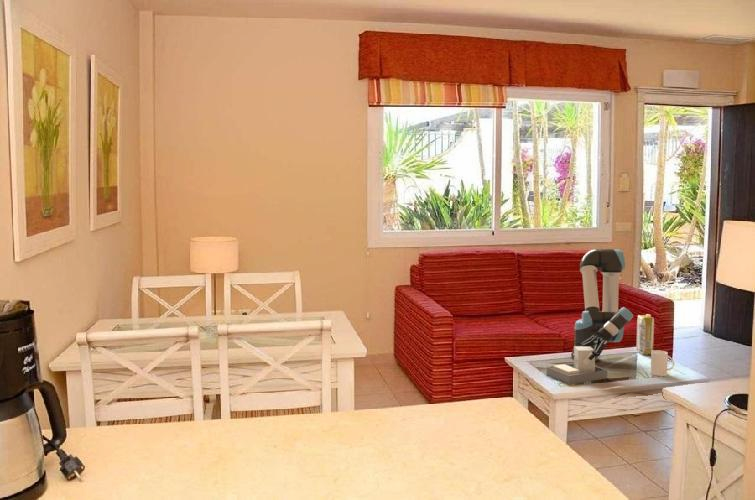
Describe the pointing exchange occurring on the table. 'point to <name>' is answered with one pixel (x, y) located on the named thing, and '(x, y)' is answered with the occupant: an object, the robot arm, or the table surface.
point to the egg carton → (566, 369)
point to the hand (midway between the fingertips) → (579, 359)
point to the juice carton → (645, 334)
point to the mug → (659, 363)
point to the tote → (577, 375)
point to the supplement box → (580, 355)
